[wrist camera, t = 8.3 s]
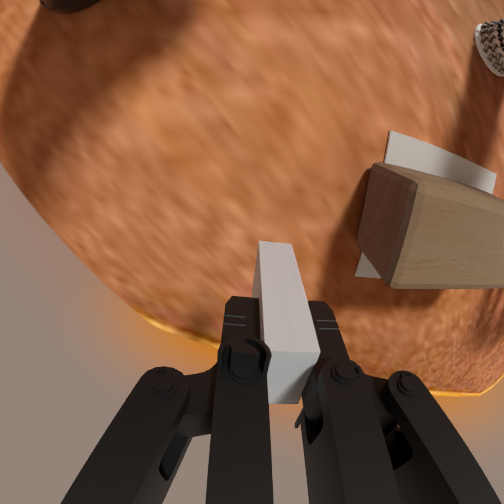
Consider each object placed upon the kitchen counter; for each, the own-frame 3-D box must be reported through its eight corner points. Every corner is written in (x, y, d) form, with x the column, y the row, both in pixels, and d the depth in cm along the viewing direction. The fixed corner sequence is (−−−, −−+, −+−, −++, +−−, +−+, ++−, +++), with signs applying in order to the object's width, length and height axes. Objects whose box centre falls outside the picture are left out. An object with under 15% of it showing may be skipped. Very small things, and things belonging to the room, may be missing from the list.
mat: (389, 130, 25) (390, 130, 25) (495, 173, 26) (496, 174, 26) (354, 275, 33) (355, 276, 33) (459, 282, 34) (460, 283, 34)
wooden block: (352, 244, 31) (466, 254, 31) (386, 293, 22) (506, 291, 22) (368, 158, 26) (484, 190, 27) (418, 179, 17) (533, 216, 18)
